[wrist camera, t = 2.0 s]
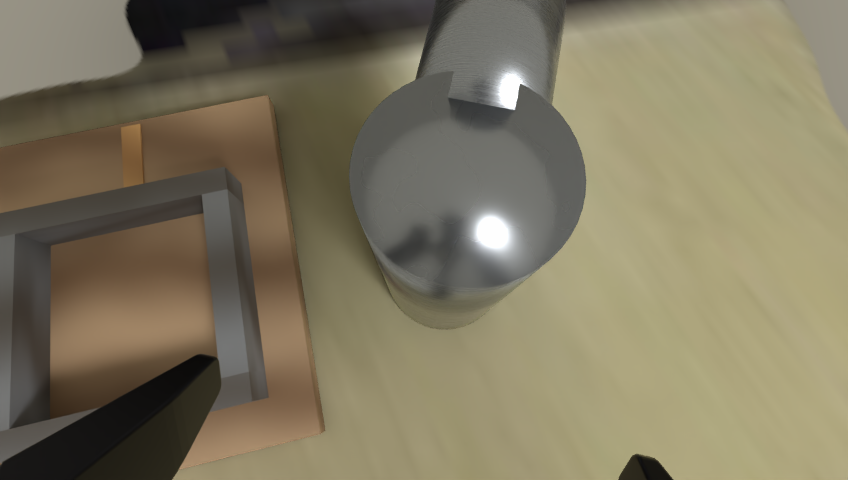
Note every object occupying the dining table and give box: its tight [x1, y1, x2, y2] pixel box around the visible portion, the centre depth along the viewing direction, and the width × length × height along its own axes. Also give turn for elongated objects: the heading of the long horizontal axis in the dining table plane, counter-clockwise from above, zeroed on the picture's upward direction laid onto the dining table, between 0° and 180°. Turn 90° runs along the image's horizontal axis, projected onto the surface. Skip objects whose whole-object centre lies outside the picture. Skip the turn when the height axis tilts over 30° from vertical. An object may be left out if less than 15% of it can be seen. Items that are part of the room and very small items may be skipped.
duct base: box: [0, 95, 325, 470], centre depth 21 cm, size 18×15×3 cm
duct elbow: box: [349, 0, 586, 329], centre depth 17 cm, size 10×6×12 cm, turn 168°
